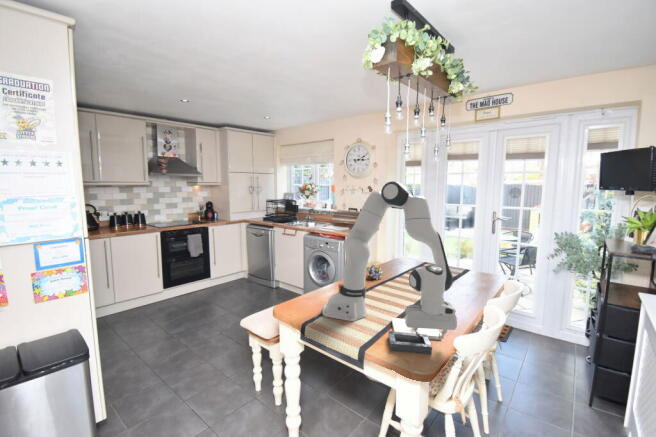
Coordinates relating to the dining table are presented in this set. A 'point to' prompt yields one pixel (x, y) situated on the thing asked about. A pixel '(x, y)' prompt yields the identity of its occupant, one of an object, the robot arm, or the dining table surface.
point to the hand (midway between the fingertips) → (429, 337)
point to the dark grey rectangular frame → (409, 347)
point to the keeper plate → (401, 327)
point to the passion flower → (374, 271)
